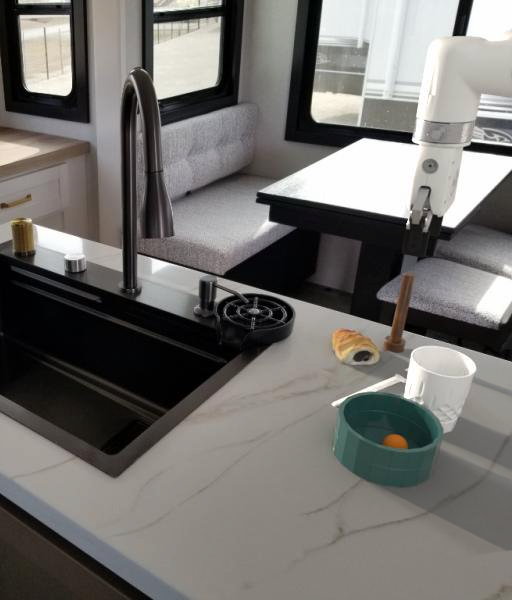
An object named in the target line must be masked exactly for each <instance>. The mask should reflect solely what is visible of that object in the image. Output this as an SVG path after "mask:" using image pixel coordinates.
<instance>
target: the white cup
mask: <svg viewBox="0 0 512 600" xmlns="http://www.w3.org/2000/svg"><path fill="white" fill-rule="evenodd" d="M408 368H409V369H408V372H407V374H406V375H407V376H406V379H407V380H406V383H405V388H404V392H403V393H404V394H403V397H405V398H408V399H410V400H413V401H415V402H417V403H419V404H421V405H422V406H424V407H425V408H427V409H429V410H430V411H431V412H432V413H433V414H434V415H435V416H436V417H437V418H438V419H439V420H440V423H441V425H442V427H443V429H444V432H443V434H446V433H450V432H452V431H453V430H454V428H455V427H456V424H457V421H458V418H459V416H460V415H461V414H462V410H463V407H464V406H465V402H466V400H467V398H468V395H469V392H470V390H471V386H472V383H473V381H474V378H475V375H476V373H477V365H476V363H475V361H474V360H473V359H472V358H471V357H469V356H468V355H466V354H464V353H463V352H460V351H458V350H455V349H453V348H449V347H445V346H440V345H423V346H419V347H417V348H414V349H413V350H412V352H411V354H410V358H409V363H408Z"/></svg>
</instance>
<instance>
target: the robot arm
mask: <svg viewBox="0 0 512 600" xmlns="http://www.w3.org/2000/svg"><path fill="white" fill-rule="evenodd" d="M425 59H426V60H425V64H424V71H423V75H422V82H421V87H420V91H419V98H418V103H417V104H418V105H417V111H416V115H415V121H414V126H413V133H412V137H411V138H412V139H411V141H412V142H413V143H415V144H417V145H418V148H417V153H416V157H415V162H414V166H413V172H412V175H411V176H412V177H411V181H410V187H409V191H408V192H409V193H408V197H407V198H408V199H407V206H406V207H407V208H406V209H407V210H408V212H409V213H410V214H409V217H408V220H407V223H406V227H405V229H404V235H403V240H402V246H401V254H402V255H406V256H411V257H416V258H421V259H422V258H424V257H425V256H426V254H427V248H428V244H429V238H430V237H435V238H438V237H439V236H441V235H440V234H441V231H442V225H443V222H444V215H446V213H447V212H449V209H450V208H451V207H452V205H453V204H454V202H455V199H456V195H457V188H458V183H459V176H460V172H461V166H462V159H463V151H464V147H469V146H470V145H472V144H471V143H472V139H473V134H474V131H475V125H476V122H477V121H476V120H477V116H478V111H479V107H480V103H481V97H482V95H489V96H496V97H502V98H508V99H509V98H511V99H512V28H510V29H508V30H505V31H502V32H501V33H500V34H498V35H496V36H495V37H494V38H493V39H491V40H487V39H486V38H485V37H481V36H480V37H479V36H472V35H471V36H469V35H456V36H455V35H454V36H453V35H452V36H443V37H439V38H435V39H434V40H433V41H431V43H430V45H429V46H428V49H427V54H426V58H425Z"/></svg>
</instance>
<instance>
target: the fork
mask: <svg viewBox="0 0 512 600" xmlns="http://www.w3.org/2000/svg"><path fill="white" fill-rule="evenodd" d="M408 369H409V367H407V368H406V369H404V371H406V372H407V373H408ZM406 380H407V378H405V377H403V376H402V375H400V374H398V373H395V374H394V375H393V376H392V377H389V378H387V379H385V380H382V381H380V382H377V383H375V384H372V385H370V386H368V387H365V388H363V389H361V390H358V391H357V392H354V393H352V394H350V395H347V396H345V397H342V398H339V399H338V400H335V401H333V402H332V403H331V406H333V408H337V407H340V404H341V403H342V402H343V401H344V400H345V399H346V398H347V397H349V396H352V395H354V394H357V393H362V392H379V391H381V390H384V389H385V388H388V387H391V386H393V385H395V384H398V383H399V384H400V383H403V384H404V383H405V384H406Z"/></svg>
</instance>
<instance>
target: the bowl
mask: <svg viewBox="0 0 512 600" xmlns="http://www.w3.org/2000/svg"><path fill="white" fill-rule="evenodd" d="M353 394H354V393H353ZM351 395H352V394H351ZM348 396H349V395H348ZM346 397H347V396H346ZM338 407H339V408H338V410H337V415H336V420H335V428H334V432H333V438H332V444H331V445H332V449H333V453H334V456H335V457H336V458H337V460H338V461H339V462H340V464H342V466H343V467H344V468H346V470H348V471H349V472H350V473H352V474H354V475H356V476H357V477H359V478H361V479H363V480H365V481H368V482H370V483H373V484H377V485H380V486H384V487H390V488H391V487H392V488H409V487H415V486H418V485H421V484H423V483H425V482H427V481H428V480H429V479H430V478H431V477H432V475H433V474H434V472H435V468H436V464H437V461H438V457H439V454H440V451H441V447H442V444H443V440H444V433H443V432H444V429H443V427H442V425H441V423H440V420H439V419H438V418H437V417H436V416H435V415H434V414H433V413H432V412H431V411H430V410H429V409H427V408H425V407H424V406H422V405H421V404H419V403H417V402H415V401H413V400H410V399H408V398H405V397H404V396H402V395H398V394H395V393H390V392H384V391H383V392H382V391H376V392H362V393H357V394H354V395H352V396H349V397H347V398H346V399H345V400H344V401H343V402H342V403H341V404H340V405H339V406H338ZM392 434H397V435H400V436H402V437H403V438H404V439H405V440H406V442H407V444H408V449H400V448H391V447H388V446H384V445H382V444H383V440H384V439H385V438H386V437H387V436H389V435H392Z"/></svg>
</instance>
